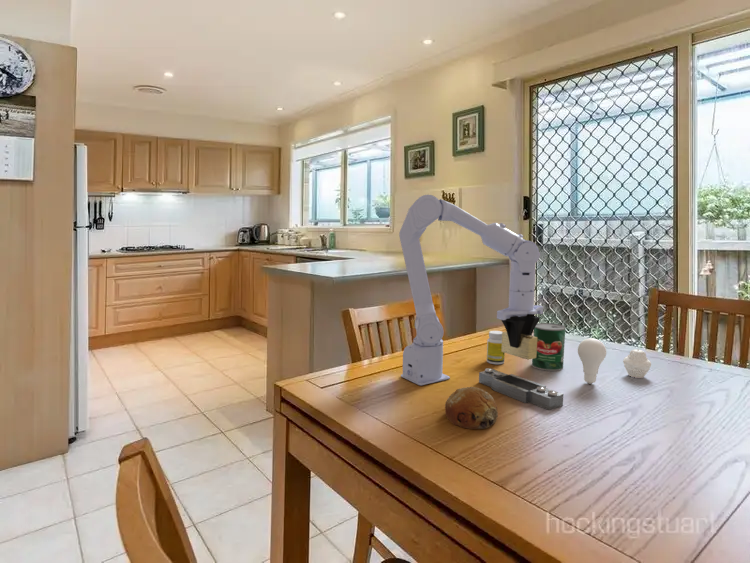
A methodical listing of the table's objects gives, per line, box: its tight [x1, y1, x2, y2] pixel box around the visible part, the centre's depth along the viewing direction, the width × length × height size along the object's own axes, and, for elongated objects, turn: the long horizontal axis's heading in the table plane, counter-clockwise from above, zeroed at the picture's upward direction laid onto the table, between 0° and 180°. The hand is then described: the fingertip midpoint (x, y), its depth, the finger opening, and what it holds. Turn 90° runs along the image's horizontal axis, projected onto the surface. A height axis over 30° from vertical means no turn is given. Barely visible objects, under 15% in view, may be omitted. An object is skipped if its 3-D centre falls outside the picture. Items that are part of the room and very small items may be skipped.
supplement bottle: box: [486, 330, 506, 365], centre depth 125 cm, size 5×5×8 cm
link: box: [501, 330, 537, 361], centre depth 111 cm, size 3×8×5 cm, turn 33°
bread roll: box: [444, 386, 499, 430], centre depth 89 cm, size 10×10×8 cm
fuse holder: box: [478, 367, 564, 411], centre depth 103 cm, size 7×20×3 cm, turn 33°
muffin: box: [622, 348, 652, 379], centre depth 114 cm, size 6×6×7 cm
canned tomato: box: [531, 322, 567, 372], centre depth 122 cm, size 8×8×11 cm
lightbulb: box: [577, 337, 607, 385], centre depth 109 cm, size 6×6×11 cm
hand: (519, 345), depth 111 cm, fingers closed on link, 3 cm apart
